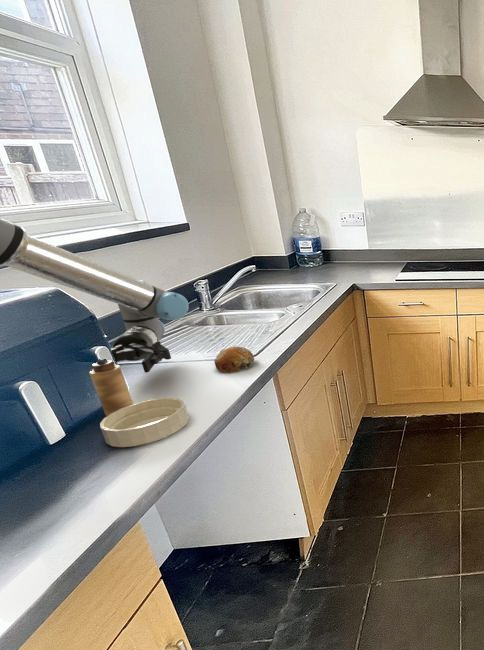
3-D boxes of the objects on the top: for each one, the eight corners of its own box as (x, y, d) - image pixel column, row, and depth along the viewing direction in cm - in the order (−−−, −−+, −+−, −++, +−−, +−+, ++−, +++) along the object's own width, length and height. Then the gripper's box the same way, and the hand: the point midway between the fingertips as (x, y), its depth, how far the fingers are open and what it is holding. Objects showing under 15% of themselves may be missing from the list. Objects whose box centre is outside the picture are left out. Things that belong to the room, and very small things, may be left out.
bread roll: (255, 369, 132) (248, 345, 132) (258, 366, 124) (251, 340, 124) (218, 378, 126) (211, 353, 126) (219, 375, 118) (211, 348, 118)
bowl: (96, 456, 84) (88, 437, 82) (119, 423, 96) (113, 406, 94) (182, 438, 90) (177, 420, 88) (194, 409, 102) (189, 392, 100)
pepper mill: (103, 422, 96) (81, 365, 91) (111, 412, 100) (90, 357, 95) (132, 417, 98) (112, 360, 93) (138, 407, 103) (119, 353, 98)
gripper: (69, 338, 108) (27, 368, 90) (187, 324, 119) (170, 348, 101) (80, 364, 110) (41, 399, 93) (194, 348, 121) (178, 376, 103)
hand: (108, 372), depth 97 cm, fingers open, 13 cm apart
